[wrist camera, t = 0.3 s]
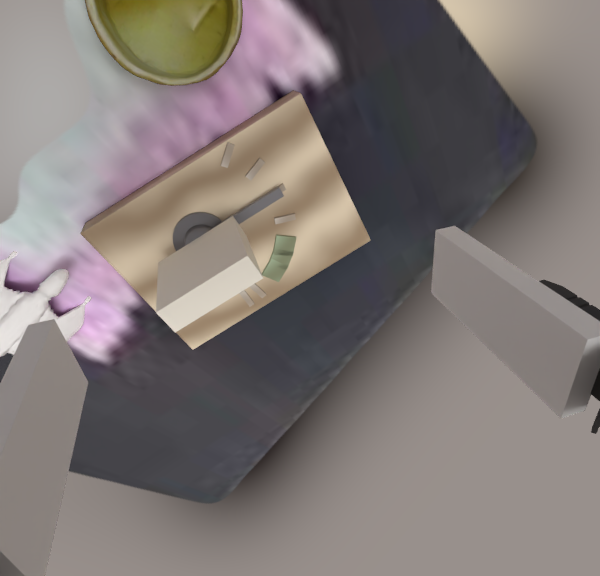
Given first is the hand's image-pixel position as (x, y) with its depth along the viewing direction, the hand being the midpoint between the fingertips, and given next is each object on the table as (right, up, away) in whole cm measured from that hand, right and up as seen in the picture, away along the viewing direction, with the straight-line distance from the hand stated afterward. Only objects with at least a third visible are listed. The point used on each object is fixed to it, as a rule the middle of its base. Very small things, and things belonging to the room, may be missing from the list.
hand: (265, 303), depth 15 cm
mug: (-10, +23, +17) cm, 30 cm away
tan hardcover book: (-5, +7, +27) cm, 28 cm away
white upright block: (-6, +6, +24) cm, 25 cm away
